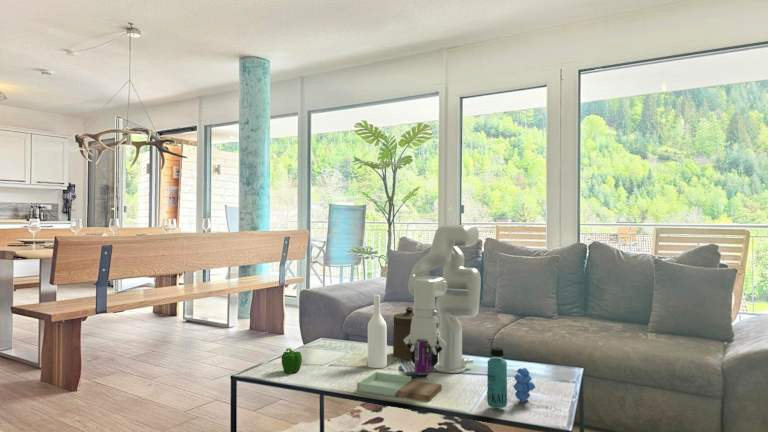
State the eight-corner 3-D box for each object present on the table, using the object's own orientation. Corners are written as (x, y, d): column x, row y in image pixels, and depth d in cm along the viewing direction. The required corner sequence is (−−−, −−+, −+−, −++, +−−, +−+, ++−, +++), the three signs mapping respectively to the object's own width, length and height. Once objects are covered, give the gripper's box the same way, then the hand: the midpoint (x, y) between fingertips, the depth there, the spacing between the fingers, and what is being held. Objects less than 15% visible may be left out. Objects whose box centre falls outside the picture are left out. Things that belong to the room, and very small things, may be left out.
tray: (411, 384, 196) (411, 376, 196) (395, 397, 182) (395, 388, 182) (375, 379, 202) (375, 371, 202) (357, 391, 189) (357, 382, 189)
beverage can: (433, 375, 181) (433, 341, 181) (413, 374, 182) (413, 340, 182) (435, 370, 188) (435, 336, 188) (416, 369, 189) (415, 336, 189)
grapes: (529, 410, 169) (529, 373, 169) (509, 405, 173) (509, 369, 173) (541, 399, 179) (540, 364, 179) (521, 395, 183) (521, 361, 183)
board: (441, 389, 189) (441, 384, 189) (429, 401, 178) (429, 395, 178) (411, 385, 195) (411, 380, 195) (397, 396, 183) (397, 390, 183)
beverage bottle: (492, 404, 175) (492, 344, 175) (511, 408, 171) (510, 347, 171) (483, 409, 170) (483, 348, 170) (502, 414, 166) (501, 351, 166)
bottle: (388, 363, 224) (388, 293, 224) (384, 369, 216) (383, 296, 216) (370, 362, 226) (370, 293, 226) (365, 367, 218) (365, 296, 218)
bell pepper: (296, 367, 219) (296, 343, 219) (304, 372, 212) (304, 348, 212) (277, 371, 214) (277, 346, 214) (285, 376, 207) (285, 351, 207)
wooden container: (431, 354, 239) (431, 306, 239) (415, 361, 227) (415, 311, 227) (403, 349, 247) (403, 303, 247) (386, 356, 235) (386, 308, 235)
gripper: (451, 313, 185) (451, 363, 185) (406, 310, 192) (406, 358, 192) (444, 317, 178) (444, 369, 178) (398, 313, 186) (398, 363, 185)
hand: (424, 363), depth 185 cm, fingers closed on beverage can, 6 cm apart
